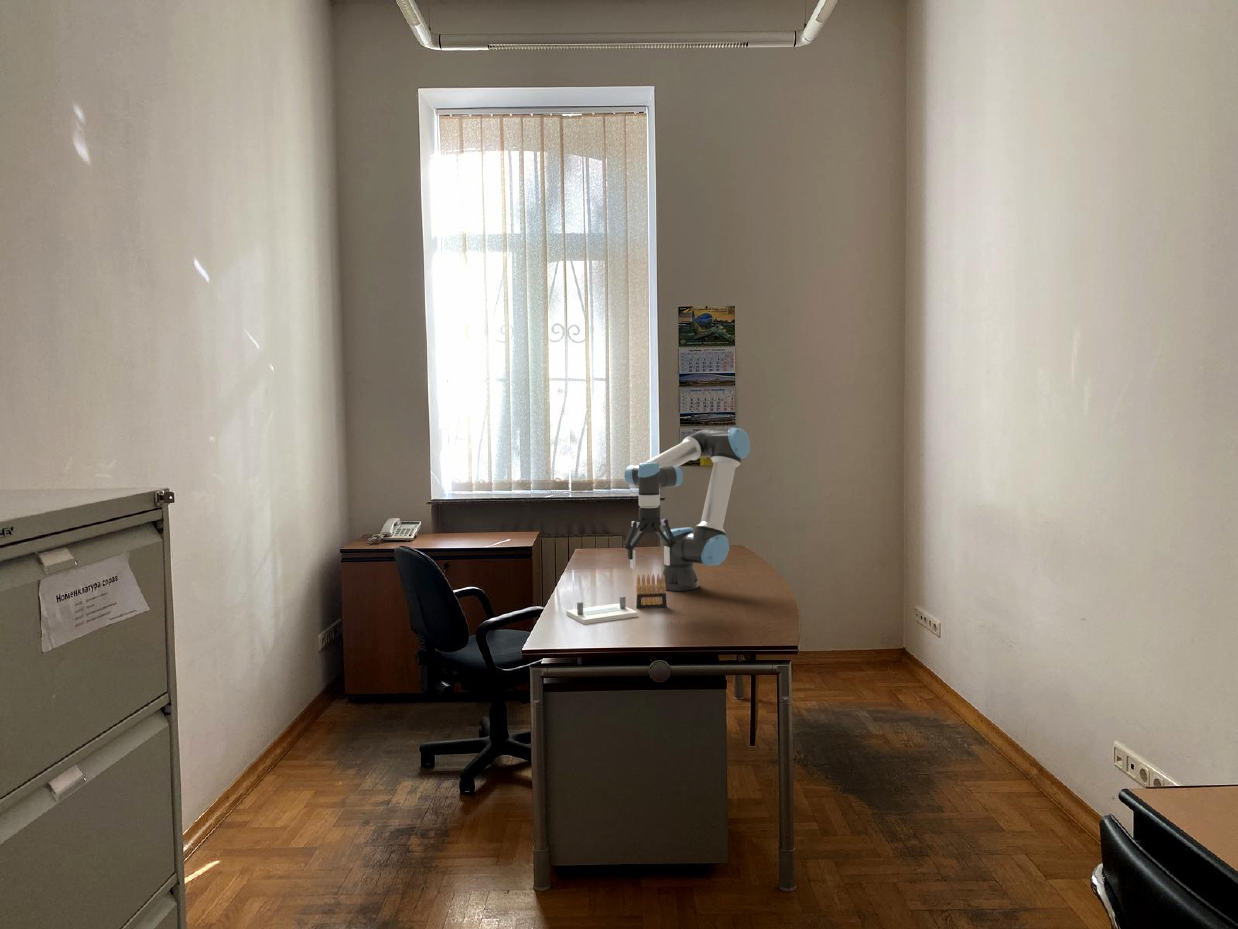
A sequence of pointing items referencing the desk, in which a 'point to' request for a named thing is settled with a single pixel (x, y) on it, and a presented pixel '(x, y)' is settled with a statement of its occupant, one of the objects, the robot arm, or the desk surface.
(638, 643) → the desk surface
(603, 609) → the board
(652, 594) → the ammunition clip
